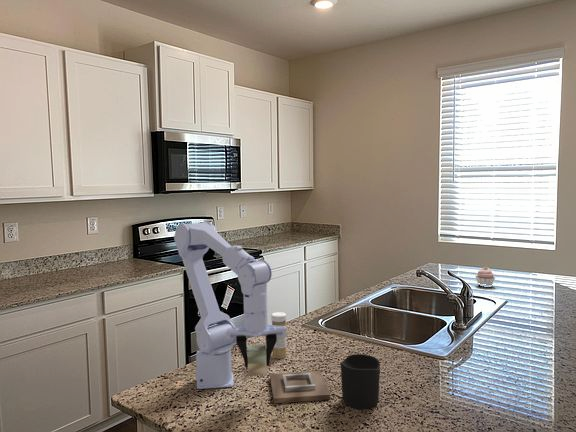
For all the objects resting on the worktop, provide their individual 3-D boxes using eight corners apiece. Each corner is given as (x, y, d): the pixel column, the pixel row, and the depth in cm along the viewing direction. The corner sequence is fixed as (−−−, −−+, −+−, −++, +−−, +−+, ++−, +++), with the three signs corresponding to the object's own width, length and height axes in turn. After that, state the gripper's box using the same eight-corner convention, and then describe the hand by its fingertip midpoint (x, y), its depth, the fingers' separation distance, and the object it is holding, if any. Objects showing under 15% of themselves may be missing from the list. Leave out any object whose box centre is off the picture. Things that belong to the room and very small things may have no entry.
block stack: (248, 376, 108) (247, 351, 108) (247, 368, 113) (247, 345, 112) (266, 374, 109) (266, 350, 108) (265, 367, 113) (265, 344, 113)
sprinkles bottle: (271, 354, 141) (270, 311, 140) (286, 353, 141) (285, 311, 140) (272, 359, 136) (271, 316, 135) (287, 358, 136) (286, 315, 135)
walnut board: (274, 403, 109) (273, 394, 109) (270, 378, 123) (269, 370, 123) (330, 399, 111) (330, 390, 111) (320, 375, 125) (320, 367, 125)
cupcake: (477, 288, 219) (477, 268, 218) (473, 284, 228) (473, 264, 227) (498, 288, 217) (498, 268, 216) (492, 284, 226) (492, 264, 226)
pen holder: (387, 407, 106) (387, 366, 106) (350, 414, 104) (350, 372, 103) (369, 390, 115) (368, 352, 115) (335, 395, 113) (334, 356, 112)
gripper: (225, 317, 105) (226, 373, 106) (286, 314, 106) (287, 369, 107) (226, 308, 112) (227, 361, 113) (284, 306, 113) (285, 358, 114)
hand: (257, 365), depth 110 cm, fingers closed on block stack, 4 cm apart
